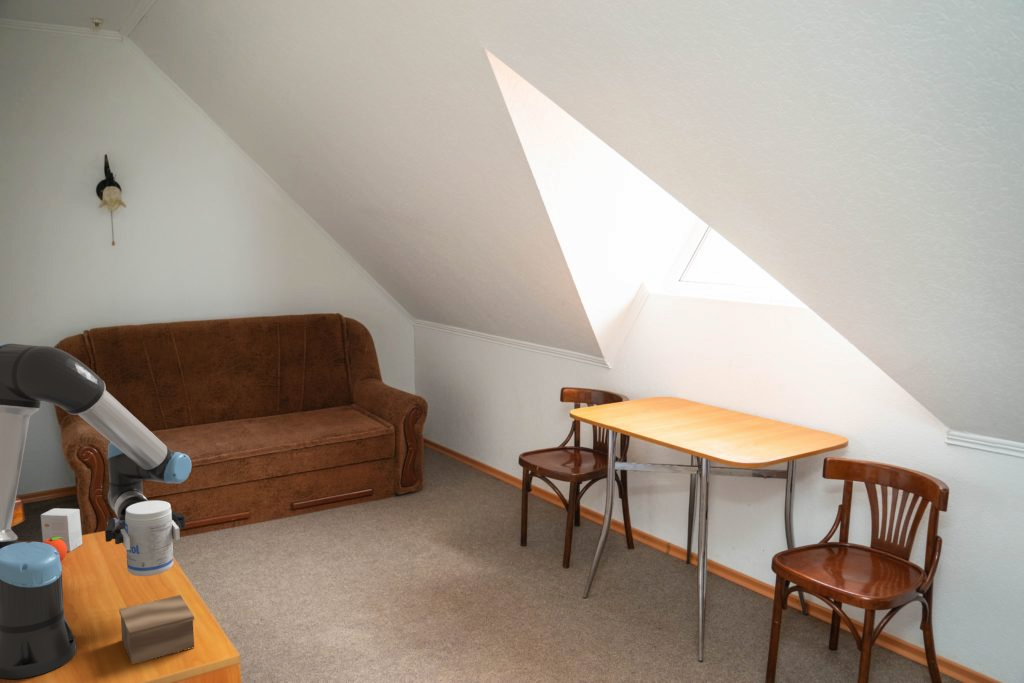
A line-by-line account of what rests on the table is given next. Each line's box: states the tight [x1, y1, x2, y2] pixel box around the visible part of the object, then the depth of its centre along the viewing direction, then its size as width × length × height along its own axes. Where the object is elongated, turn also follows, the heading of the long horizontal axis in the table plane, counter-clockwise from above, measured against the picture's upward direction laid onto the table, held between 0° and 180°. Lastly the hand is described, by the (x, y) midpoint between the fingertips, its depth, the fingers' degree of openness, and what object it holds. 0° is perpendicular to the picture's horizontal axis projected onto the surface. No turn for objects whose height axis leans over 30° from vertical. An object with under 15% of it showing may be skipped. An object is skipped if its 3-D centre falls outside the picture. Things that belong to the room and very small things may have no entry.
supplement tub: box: [125, 500, 174, 577], centre depth 179 cm, size 10×10×15 cm
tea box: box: [118, 594, 195, 665], centre depth 169 cm, size 12×12×7 cm
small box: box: [40, 507, 83, 553], centre depth 221 cm, size 8×6×10 cm
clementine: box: [41, 537, 69, 562], centre depth 210 cm, size 8×7×7 cm
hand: (153, 539), depth 175 cm, fingers closed on supplement tub, 9 cm apart
